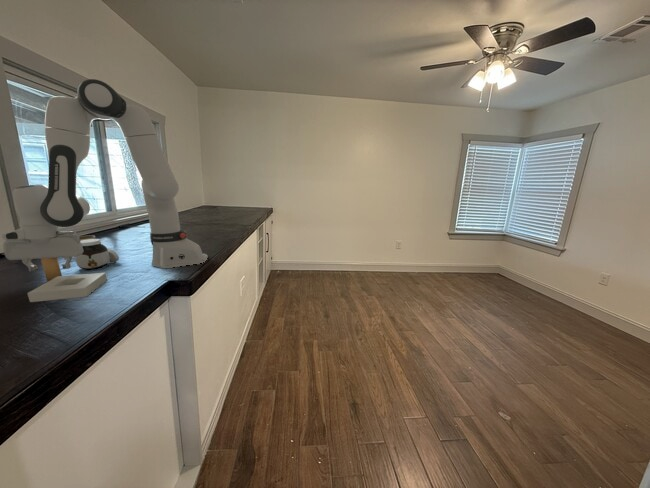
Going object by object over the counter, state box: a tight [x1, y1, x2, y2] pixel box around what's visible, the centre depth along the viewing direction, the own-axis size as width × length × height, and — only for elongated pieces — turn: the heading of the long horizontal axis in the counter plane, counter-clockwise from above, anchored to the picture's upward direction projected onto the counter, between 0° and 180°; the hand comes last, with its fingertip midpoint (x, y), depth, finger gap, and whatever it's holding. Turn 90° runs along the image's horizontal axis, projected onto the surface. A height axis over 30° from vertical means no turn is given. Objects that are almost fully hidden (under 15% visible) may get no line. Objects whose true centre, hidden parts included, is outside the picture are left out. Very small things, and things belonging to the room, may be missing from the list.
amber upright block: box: [40, 258, 63, 283], centre depth 93 cm, size 4×4×9 cm
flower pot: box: [79, 235, 96, 241], centre depth 123 cm, size 9×9×9 cm
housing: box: [27, 272, 108, 303], centre depth 86 cm, size 14×14×3 cm
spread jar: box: [74, 238, 120, 271], centre depth 108 cm, size 12×11×12 cm
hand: (50, 269), depth 93 cm, fingers open, 8 cm apart
